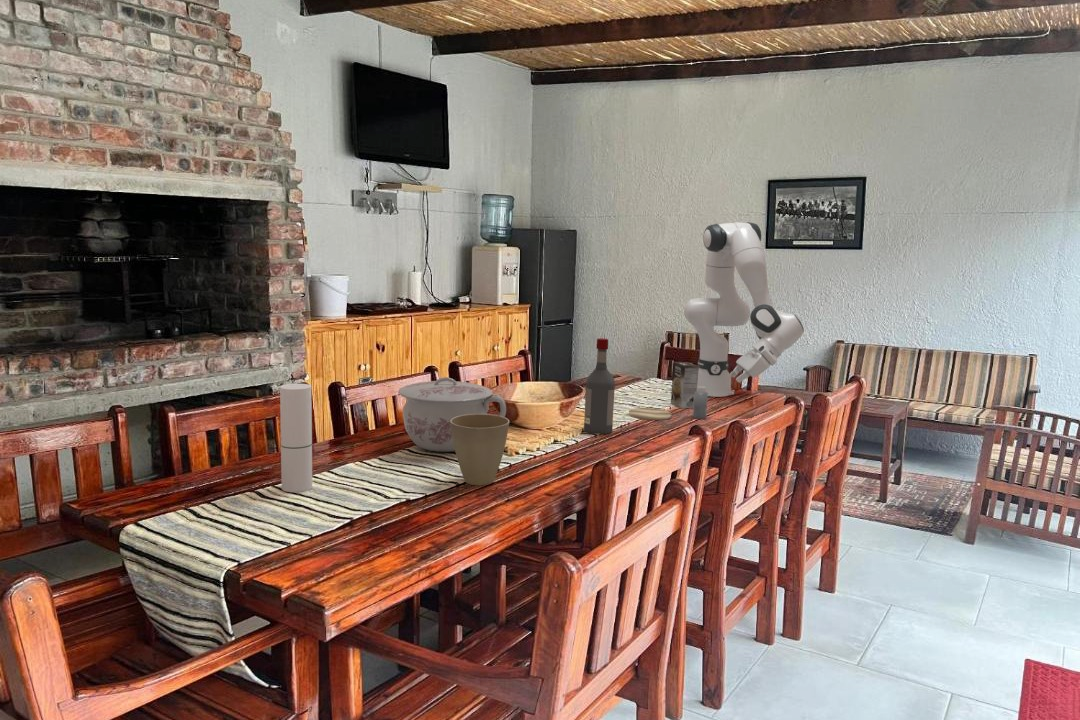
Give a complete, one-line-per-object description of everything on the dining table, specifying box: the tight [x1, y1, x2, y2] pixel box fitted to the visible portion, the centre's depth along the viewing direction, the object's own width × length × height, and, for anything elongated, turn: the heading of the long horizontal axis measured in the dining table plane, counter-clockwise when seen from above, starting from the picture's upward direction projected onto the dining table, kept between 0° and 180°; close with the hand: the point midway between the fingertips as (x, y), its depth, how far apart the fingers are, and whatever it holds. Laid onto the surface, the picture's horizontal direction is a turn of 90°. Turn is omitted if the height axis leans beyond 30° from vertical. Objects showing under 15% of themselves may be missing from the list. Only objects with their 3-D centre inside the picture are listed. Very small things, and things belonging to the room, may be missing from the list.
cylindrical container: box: [279, 383, 313, 493], centre depth 193 cm, size 7×7×25 cm
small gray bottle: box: [692, 387, 709, 420], centre depth 284 cm, size 5×5×11 cm
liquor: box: [583, 337, 616, 435], centre depth 259 cm, size 9×9×30 cm
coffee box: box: [670, 361, 699, 409], centre depth 303 cm, size 9×6×16 cm
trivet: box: [628, 407, 673, 421], centre depth 285 cm, size 15×15×1 cm
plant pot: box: [450, 413, 510, 486], centre depth 203 cm, size 15×15×16 cm
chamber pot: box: [397, 376, 507, 453], centre depth 234 cm, size 28×28×21 cm
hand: (734, 378), depth 282 cm, fingers open, 8 cm apart
